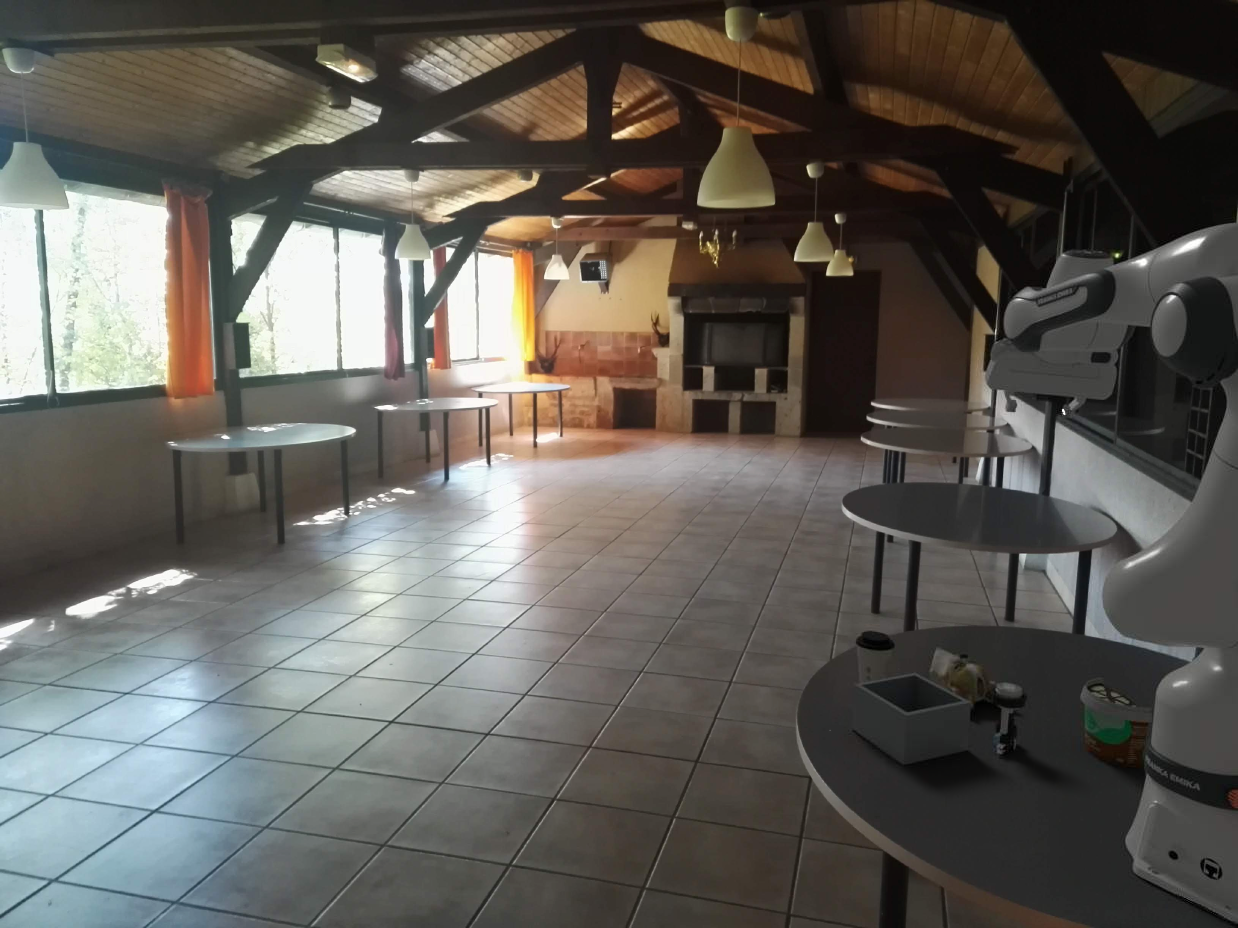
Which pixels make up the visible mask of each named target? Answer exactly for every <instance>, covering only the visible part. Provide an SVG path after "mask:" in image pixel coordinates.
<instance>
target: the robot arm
mask: <svg viewBox="0 0 1238 928" xmlns="http://www.w3.org/2000/svg"><path fill="white" fill-rule="evenodd" d="M1002 321H1003V322H1002V329H1003V333H1004V336H1005V337H1006V338H1003V339H1001V340H998V341H996V342H995V343H993V345H992V347H991V349H990V355H989V356H990V360H989V363H988V366H987V367H986V370H985V375H984V380H985V384H986V385H987V387H988V388H989V389H991V390H995V391H1003V393H1004V396H1005V399H1006V403H1005V407H1004V408H1005V412H1007V413H1016V411H1017V407H1018V402H1017V400H1016V399H1012V398H1011V397H1013V396H1014V394H1015V392H1018V393H1025V394H1026V393H1027V394H1038V395H1039V394H1040V395H1049V396H1060V397H1071V398H1074V399H1073V400H1072V401H1071V402H1070V403H1069V404H1063V407H1062V410H1061V415H1062V418H1066V419H1067V418H1069V419H1072V418H1073V416H1074V414H1075V411H1077V410H1078V409H1079V408H1080V407H1082V406H1083V405H1084V404H1085V403H1086V400H1087V399H1091V400H1102V401H1103V400H1106V399H1108V398H1109V397H1111V395H1112V394H1113V392H1114V389H1115V388H1114V387H1115V385H1116V380H1117V375H1118V374H1117V372H1118V371H1117V367H1116V365H1115V364H1116V363H1117V362H1118V360H1119V359H1118V358H1119V353H1118V350H1120V349H1121V348H1122V347H1123V346H1124V345H1126V344H1127V342H1128V341H1129V340H1130V339H1131V337H1132V336H1133V334H1134V332H1135V329H1136V327H1148V328H1149V335H1150V343H1151V347H1152V349H1153V351H1154V353H1155V354H1156V355H1157V357H1159V359H1160V360H1161V361H1162V362H1163V363H1164V364H1165V365H1166V366H1167V367H1168V368H1170V369H1171V371H1173V372H1175V373H1178V374H1179V375H1182V376H1185V377H1187V378H1188V379H1189V381H1190V383H1191V384H1192V386H1193V387H1195V388H1197V389H1199V390H1205V391H1206V390H1208V389H1211V388H1212V389H1213V388H1214V387H1216V386H1217V385H1219V384H1220V385H1221V386H1222V388H1223V391H1224V393H1225V396H1226V408H1225V413H1224V416H1223V420H1222V422H1221V424H1220V427H1219V430H1218V432H1217V436H1216V437H1215V441H1214V442H1213V443H1214V444H1213V447H1212V450H1211V453H1210V455H1209V459H1208V462H1207V465H1206V467H1205V470H1204V473H1203V475H1202V478H1201V480H1200V483H1199V485H1198V487H1197V490H1196V493H1195V494H1194V495H1195V496H1194V497H1193V499H1192V501H1191V503H1190V505H1189V506H1188V508H1187V510H1186V511H1185V512H1184V513H1183V515H1182V516H1181V517H1180V519H1179V520H1177V522H1176V523H1175V524H1174V525H1173V526H1172V527H1171V528H1169V530H1168V531H1167V532H1165V534H1163V535H1162V536H1161V537H1160V538H1158V539H1157V540H1156V541H1154V542H1153V543H1152V544H1151V545H1149V546H1147V547H1146V548H1144V549H1143V550H1141V551H1139V552H1137V553H1135V554H1133V555H1131V556H1128V557H1126V558H1124V559H1121V560H1119V561H1118V562H1117V563H1116V564H1114V565H1113V567H1112V568H1111V569H1110V570H1109V572H1108V574H1107V576H1105V579H1104V583H1103V586H1102V589H1101V591H1102V593H1101V602H1102V607H1103V609H1104V613H1105V615H1106V617H1107V619H1108V621H1109V622H1110V624H1111V625H1112V627H1114V629H1115V630H1116V631H1117V632H1118V633H1119V634H1120V635H1121V636H1123V637H1125V638H1128V639H1133V640H1137V641H1141V642H1145V643H1150V644H1154V645H1159V646H1164V647H1177V648H1182V647H1183V648H1203V650H1202V651H1201V652H1200V653H1199V654H1198V655H1197V657H1195V658H1194V659H1193V660H1191V661H1190V662H1189V663H1187V664H1186V665H1183V666H1182V667H1179V668H1177V669H1174V670H1173V671H1171V672H1169V673H1168V674H1166V675H1165V676H1164V677H1163V678H1162V679H1161V681H1160V682H1159V684H1158V686H1157V689H1156V691H1155V698H1154V699H1155V701H1154V709H1153V716H1152V729H1151V737H1149V738H1148V739H1147V742H1146V748H1145V754H1144V763H1143V768H1144V772H1145V780H1144V785H1143V791H1142V795H1141V798H1140V802H1139V806H1138V808H1137V811H1136V815H1135V817H1134V820H1133V822H1132V824H1131V826H1130V829H1129V831H1128V832H1127V834H1126V836H1125V846H1126V848H1127V851H1128V853H1130V855H1131V856H1132V859H1133V862H1132V870H1133V872H1134V873H1135V874H1136V875H1137V876H1138V877H1140V878H1142V879H1143V880H1146V881H1149V882H1150V883H1152V884H1154V885H1155V886H1158V887H1160V888H1162V889H1164V890H1166V891H1168V892H1171V893H1172V894H1173V895H1176V894H1177V895H1176V896H1178V895H1179V896H1178V897H1180V896H1182V897H1184V898H1187V899H1188V900H1190V901H1193V902H1196V903H1198V904H1201V905H1202V906H1205V907H1207V908H1208V909H1209V910H1212V911H1213V912H1216V913H1218V914H1219V915H1221V916H1223V917H1224V918H1227V919H1228V920H1230V921H1235V922H1237V923H1238V222H1231V223H1230V222H1229V223H1224V224H1218V225H1214V226H1209V227H1206V228H1203V229H1199V230H1196V231H1193V232H1190V233H1188V234H1186V235H1183V236H1181V237H1178V238H1176V239H1174V240H1172V241H1171V242H1168V243H1166V244H1164V245H1162V246H1159V247H1157V248H1155V249H1152V250H1150V251H1147V252H1145V253H1142V254H1140V255H1137V256H1135V257H1133V258H1131V259H1127V260H1125V261H1122V262H1119V263H1116V264H1114V258H1113V256H1111V255H1110V254H1109V253H1107V252H1104V251H1100V250H1094V249H1070V250H1069V249H1068V250H1066V251H1064V252H1062V253H1060V255H1059V256H1058V258H1057V260H1056V263H1055V264H1054V267H1053V269H1052V270H1051V273H1050V277H1049V279H1048V281H1047V284H1046V288H1045V287H1044V288H1043V287H1040V286H1039V287H1038V286H1025V287H1024V288H1023V289H1021V290H1019V292H1017V293H1016V294H1015V295H1014V296H1013V297H1012V298H1011V299H1010V300H1009V301H1008V303H1007V305H1006V307H1005V309H1004V314H1003V319H1002ZM1182 897H1181V898H1182ZM1184 898H1183V899H1184ZM1188 900H1187V901H1188ZM1190 901H1189V902H1190ZM1224 918H1223V919H1224ZM1228 920H1227V921H1228ZM1230 921H1229V922H1230Z"/></svg>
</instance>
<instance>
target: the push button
mask: <svg viewBox="0 0 1238 928" xmlns="http://www.w3.org/2000/svg"><path fill="white" fill-rule="evenodd" d="M996 684H997V687H993V688H992V689H991V690H990V694H991V695H992V701H991V702H992V703H993V704H994V705H996V706H997V707H998V708H1000V717H999V718H998V721H996V722H995V732H996V734H995V735H994V738H993V739H994V741H993V745H995V751H996V754H999V755H1003V754H1008V752H1009V751H1010V750H1011V748H1012V746H1013V750H1015V749H1016V747H1017V740H1018V726H1017V725H1016V724H1015V718H1014V715H1015V710H1019V709H1022V708H1025V706H1026V701H1027V700H1028V694H1027V693H1025V691H1023V690H1022V687H1020V685H1017V684H1013V683H1010V682H999V683H996Z"/></svg>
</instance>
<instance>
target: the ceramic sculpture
mask: <svg viewBox="0 0 1238 928" xmlns="http://www.w3.org/2000/svg"><path fill="white" fill-rule="evenodd" d="M928 673H929V680H930V681H932V682H934V683H936V684H937V685H939V686H941V687H943V688H945V689H947V690H949V691H951V692H953V693H955V694H956V695H958V696H960V697H962V698H964V699H966V700H968V701H970V702H971V710H970V711H974V707H975V705H976V703H977V702H980V701H982V700H983V699H984V698H986V699H987V700H988V701H991V702H992V695H991V694H990V690H991V689H992V688H993V687H997V684H998V683H997V682H996V681H995V680H991V679H990V678H989V675H988V672H987V670H986V669H985V668H984V667H983V666H981V665H980V664H979V663H977V662H976V661H972V660H971V657H970V656H969V655H968V654H966V653H959V654H953V653H952V652H950V651H949V652H948V651H947V650H945V649H943V648H941V647H939V646H938V647H936V649H935V651H934V654H933V659H932V662H931V665H930V668H929V671H928Z"/></svg>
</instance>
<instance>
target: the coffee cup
mask: <svg viewBox="0 0 1238 928" xmlns="http://www.w3.org/2000/svg"><path fill="white" fill-rule="evenodd" d="M855 644H856V649H857V650H856V651H857V652H856V653H857V654H856V655H857V662H858V663H857V664H858V667H857V668H858V675H859V677H858V679H859V683H863V682H868V681H874V680H879V679H885V678H889V672H890V667H891V663H892V657H893V651H894V648H895V647H896V644H895V642H894V641H893V639H892V638H890V636H889V635H888V634H886V633H884V632H879V631H873V630H868V631H867V630H866V631H863V632H861V634H860V635H859V636H858V637H857V638H856V640H855Z"/></svg>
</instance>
